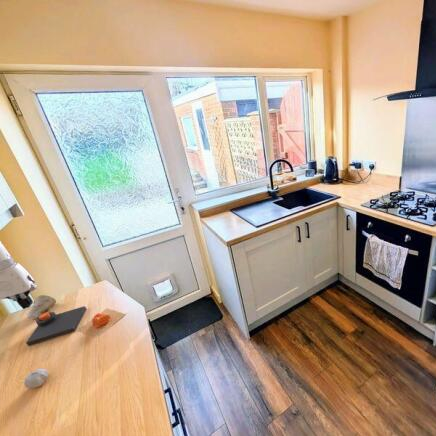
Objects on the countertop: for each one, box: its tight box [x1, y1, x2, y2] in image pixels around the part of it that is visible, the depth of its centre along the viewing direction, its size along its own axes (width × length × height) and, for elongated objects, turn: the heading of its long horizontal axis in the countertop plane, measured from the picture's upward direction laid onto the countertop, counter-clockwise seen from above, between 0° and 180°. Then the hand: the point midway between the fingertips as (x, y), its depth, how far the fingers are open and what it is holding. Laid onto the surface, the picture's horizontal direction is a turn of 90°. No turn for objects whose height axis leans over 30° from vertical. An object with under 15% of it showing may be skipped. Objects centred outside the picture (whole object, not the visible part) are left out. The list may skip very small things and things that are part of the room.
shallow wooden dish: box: [77, 307, 126, 338], centre depth 99 cm, size 12×12×4 cm
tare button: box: [38, 311, 50, 321], centre depth 101 cm, size 3×3×2 cm
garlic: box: [23, 367, 50, 389], centre depth 78 cm, size 6×5×5 cm
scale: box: [25, 306, 87, 347], centre depth 100 cm, size 15×14×4 cm
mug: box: [26, 294, 57, 320], centre depth 109 cm, size 8×10×10 cm
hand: (28, 305), depth 91 cm, fingers closed
